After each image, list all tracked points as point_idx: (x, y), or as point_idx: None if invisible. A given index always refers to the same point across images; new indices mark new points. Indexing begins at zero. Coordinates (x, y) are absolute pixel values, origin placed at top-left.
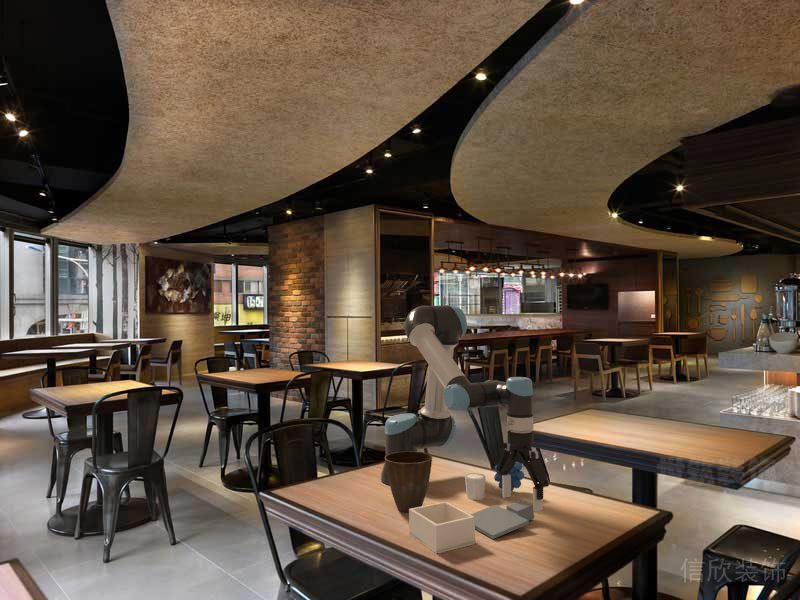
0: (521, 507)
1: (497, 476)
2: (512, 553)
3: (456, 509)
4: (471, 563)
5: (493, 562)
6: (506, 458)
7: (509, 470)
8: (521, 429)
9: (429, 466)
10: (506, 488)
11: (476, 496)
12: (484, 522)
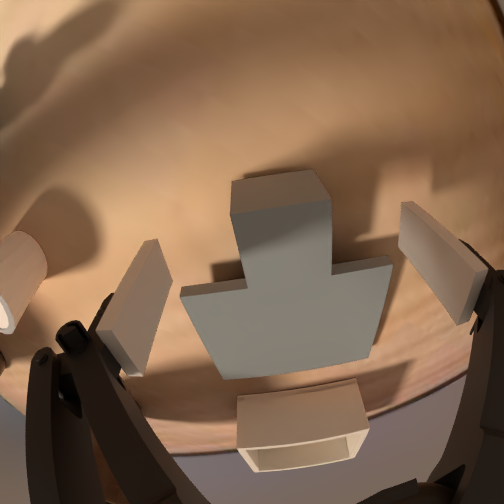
0: (314, 255)
1: None
2: (433, 333)
3: (301, 443)
4: (405, 389)
5: (428, 366)
6: (72, 467)
7: (106, 368)
8: None
9: (116, 487)
10: (154, 296)
11: (41, 273)
12: (293, 357)
